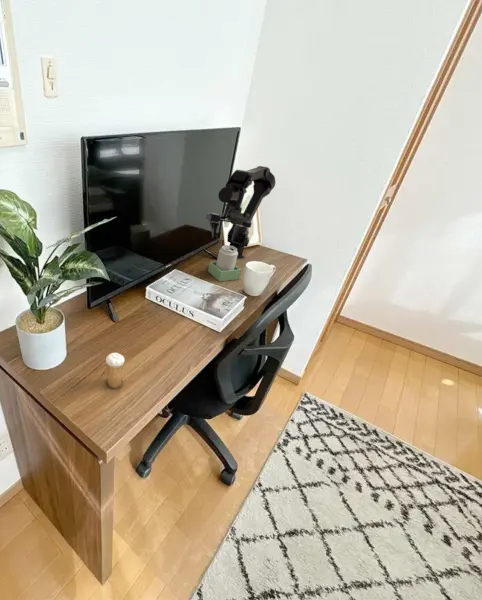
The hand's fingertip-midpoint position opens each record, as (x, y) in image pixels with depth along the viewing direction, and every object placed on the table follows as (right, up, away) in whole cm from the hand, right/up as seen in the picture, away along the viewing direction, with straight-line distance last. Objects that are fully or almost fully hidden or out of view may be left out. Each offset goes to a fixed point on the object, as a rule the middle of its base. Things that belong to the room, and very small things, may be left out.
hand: (222, 239), depth 138 cm
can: (0, -15, -2) cm, 15 cm away
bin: (0, -15, -2) cm, 15 cm away
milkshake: (-44, -48, -56) cm, 86 cm away
